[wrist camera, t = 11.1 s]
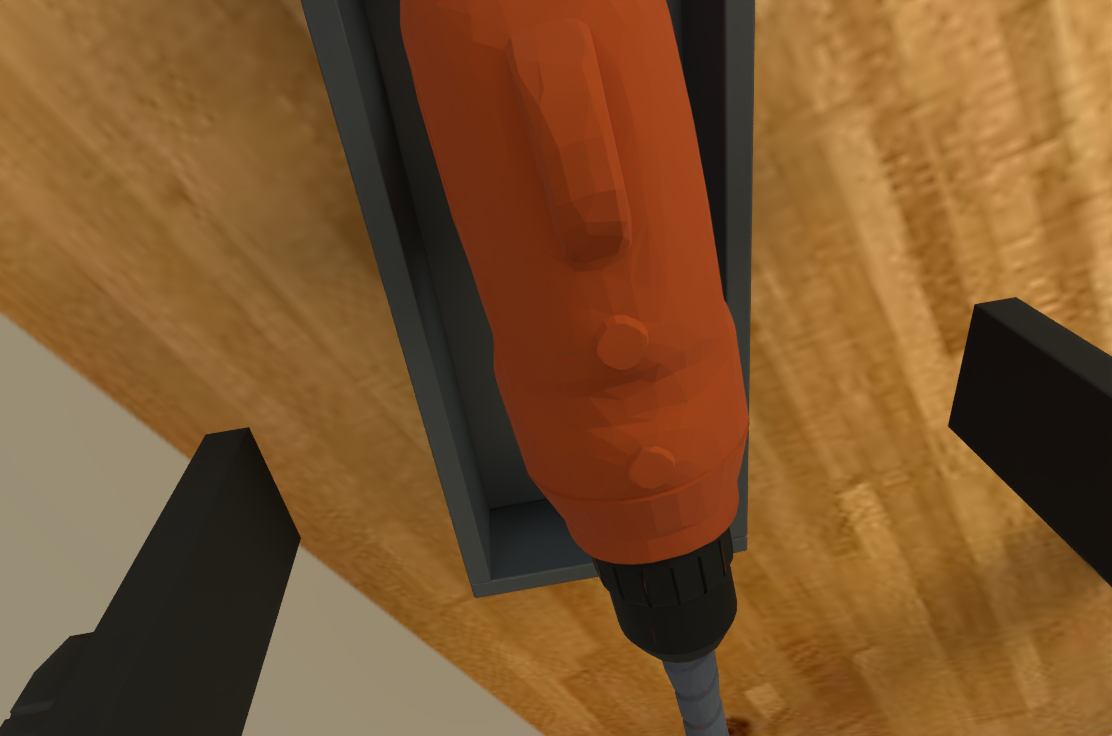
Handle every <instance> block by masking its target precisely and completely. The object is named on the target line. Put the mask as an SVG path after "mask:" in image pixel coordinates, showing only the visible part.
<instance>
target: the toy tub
mask: <svg viewBox="0 0 1112 736" xmlns="http://www.w3.org/2000/svg"><path fill="white" fill-rule="evenodd" d="M301 3H302V7H303V10H304V14H305V17H306V21H307V24H308V28H309V31H310V34H311V38H312V41H313V45H314V48H315V52H316V55H317V59H318V62H319V65H320V69H321V72H322V76H323V79H324V83H325V86H326V89H327V93H328V96H329V100H330V103H331V107H332V110H333V114H334V117H335V120H336V124H337V127H338V131H339V134H340V138H341V141H342V145H343V148H344V151H345V155H346V158H347V162H348V165H349V169H350V172H351V176H352V179H353V182H354V186H355V189H356V193H357V196H358V200H359V203H360V206H361V210H362V213H363V217H364V220H365V224H366V227H367V231H368V234H369V237H370V241H371V244H372V248H373V251H374V255H375V258H376V262H377V265H378V268H379V272H380V275H381V279H382V282H383V286H384V289H385V293H386V296H387V299H388V303H389V306H390V310H391V313H392V317H393V320H394V324H395V327H396V330H397V334H398V337H399V341H400V344H401V348H402V351H403V354H404V358H405V361H406V365H407V368H408V372H409V375H410V379H411V382H412V385H413V389H414V392H415V396H416V399H417V403H418V406H419V410H420V413H421V416H422V420H423V423H424V427H425V430H426V434H427V437H428V441H429V444H430V447H431V451H432V454H433V458H434V461H435V465H436V468H437V471H438V475H439V478H440V482H441V485H442V489H443V492H444V496H445V499H446V502H447V506H448V509H449V513H450V516H451V520H452V523H453V527H454V530H455V533H456V537H457V540H458V544H459V547H460V551H461V554H462V558H463V561H464V564H465V568H466V571H467V575H468V578H469V582H470V584H471V587H472V591H473V594H474V597H475V598H479V597H485V596H490V595H496V594H502V593H508V592H513V591H519V590H525V589H530V588H536V587H542V586H547V585H553V584H559V583H565V582H570V581H576V580H582V579H587V578H593V577H599V575H598V573H597V571H596V569H595V566H594V563H593V561H592V557H591V556H590V555H589V554H587V553H586V552H585V551H584V550H583V549H581V548H580V547H579V546H578V545H577V543H576V542H575V541H574V540H573V539H572V536H571V534H570V532H569V530H568V527H567V525H566V522H565V519H564V518H563V517H562V516H561V515H560V514H559V512H558V511H557V510H556V509H555V508H554V506H553V505H552V504H551V503H550V501H549V500H548V499H547V498H546V496H545V495H544V494H543V493H542V491H541V490H540V489H539V488H538V486H537V485H536V484H535V483H534V482H533V480H532V479H531V478H530V476H529V474H528V472H527V470H526V466H525V463H524V460H523V457H522V454H521V451H520V448H519V446H518V443H517V440H516V437H515V434H514V431H513V428H512V425H511V422H510V419H509V417H508V414H507V411H506V408H505V405H504V402H503V399H502V396H501V393H500V390H499V387H498V384H497V381H496V377H495V372H494V342H493V333H492V329H491V327H490V324H489V321H488V318H487V315H486V313H485V310H484V307H483V304H482V301H481V298H480V295H479V292H478V288H477V285H476V282H475V279H474V276H473V273H472V270H471V267H470V264H469V261H468V258H467V256H466V253H465V250H464V248H463V245H462V242H461V240H460V237H459V234H458V231H457V229H456V226H455V223H454V221H453V218H452V214H451V211H450V207H449V204H448V201H447V197H446V194H445V191H444V187H443V184H442V180H441V177H440V174H439V170H438V167H437V163H436V160H435V157H434V153H433V150H432V147H431V143H430V140H429V136H428V133H427V130H426V126H425V123H424V119H423V116H422V113H421V109H420V106H419V102H418V99H417V94H416V90H415V85H414V81H413V77H412V72H411V68H410V65H409V61H408V58H407V54H406V51H405V47H404V42H403V37H402V32H401V27H400V0H301ZM666 3H667V6H668V9H669V12H670V17H671V21H672V26H673V30H674V35H675V39H676V44H677V48H678V53H679V57H680V62H681V66H682V71H683V75H684V80H685V84H686V89H687V93H688V98H689V102H690V107H691V111H692V116H693V120H694V125H695V131H696V136H697V142H698V147H699V153H700V158H701V164H702V169H703V175H704V180H705V186H706V191H707V197H708V203H709V208H710V215H711V221H712V227H713V234H714V240H715V247H716V253H717V260H718V266H719V273H720V279H721V286H722V292H723V297H724V301H725V302H726V304H727V306H728V308H729V310H730V313H731V316H732V319H733V321H734V324H735V329H736V336H737V342H738V349H739V356H740V363H741V369H742V376H743V383H744V389H745V396H746V403H747V409H748V415H749V377H750V310H751V243H752V176H753V108H754V41H755V0H666ZM748 445H749V429H748V434H747V439H746V444H745V449H744V454H743V459H742V464H741V468H740V473H739V476H738V479H737V485H738V493H739V505H738V509H737V514H736V516H735V518H734V520H733V522H732V523H731V524H730V526H729V527H730V533H731V539H732V544H733V553H736V552H741V551H746V550H747V512H748Z"/></svg>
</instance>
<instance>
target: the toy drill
mask: <svg viewBox="0 0 1112 736" xmlns="http://www.w3.org/2000/svg"><path fill="white" fill-rule="evenodd" d="M400 27H401V32H402V37H403V42H404V47H405V51H406V54H407V58H408V61H409V65H410V68H411V72H412V77H413V81H414V85H415V90H416V94H417V99H418V102H419V106H420V109H421V113H422V116H423V119H424V123H425V126H426V130H427V133H428V136H429V140H430V143H431V147H432V150H433V153H434V157H435V160H436V163H437V167H438V170H439V174H440V177H441V180H442V184H443V187H444V191H445V194H446V197H447V201H448V204H449V207H450V211H451V214H452V218H453V221H454V223H455V226H456V229H457V231H458V234H459V237H460V240H461V242H462V245H463V248H464V250H465V253H466V256H467V258H468V261H469V264H470V267H471V270H472V273H473V276H474V279H475V282H476V285H477V288H478V292H479V295H480V298H481V301H482V304H483V307H484V310H485V313H486V315H487V318H488V321H489V324H490V327H491V329H492V333H493V342H494V372H495V377H496V381H497V384H498V387H499V390H500V393H501V396H502V399H503V402H504V405H505V408H506V411H507V414H508V417H509V419H510V422H511V425H512V428H513V431H514V434H515V437H516V440H517V443H518V446H519V448H520V451H521V454H522V457H523V460H524V463H525V466H526V470H527V472H528V474H529V476H530V478H531V479H532V480H533V482H534V483H535V484H536V485H537V486H538V488H539V489H540V490H541V491H542V493H543V494H544V495H545V496H546V498H547V499H548V500H549V501H550V503H551V504H552V505H553V506H554V508H555V509H556V510H557V511H558V512H559V514H560V515H561V516H562V517H563V518H564V519H565V522H566V525H567V527H568V530H569V532H570V534H571V536H572V539H573V540H574V541H575V542H576V543H577V545H578V546H579V547H580V548H581V549H583V550H584V551H585V552H586V553H587V554H589V555H590V556H591V557H592V561H593V563H594V566H595V569H596V571H597V573H598V575H599V577H600V579H601V581H602V583H603V585H604V587H605V588H606V589H607V590H608V591H609V592H610V596H611V599H612V602H613V605H614V609H615V612H616V615H617V619H618V622H619V624H620V627H621V629H622V631H623V632H624V634H625V636H626V637H627V638H628V639H629V640H630V641H631V642H633V643H634V644H635V645H637V646H638V647H639V648H641V649H642V650H644V651H646V652H647V653H649V654H650V655H652V656H654V657H656V658H658V659H660V660H662V662H663V665H664V668H665V671H666V673H667V675H668V677H669V679H670V681H671V683H672V685H673V687H674V689H675V694H676V698H677V701H678V705H679V709H680V712H681V716H682V717H683V724H684V728H685V732H686V736H729V733H728V729H727V726H726V719H725V714H724V710H723V705H722V701H721V698H720V694H719V675H718V668H717V663H716V657H715V650H714V649H716V648H717V647H718V645H719V644H720V642H721V641H722V639H723V638H724V636H725V634H726V633H727V631H728V629H729V628H730V626H731V624H732V623H733V621H734V618H735V615H736V612H737V599H736V593H735V588H734V582H733V577H732V572H731V567H730V564H731V561H732V559H733V544H732V539H731V533H730V527H729V526H730V524H731V523H732V522H733V520H734V518H735V516H736V514H737V509H738V505H739V493H738V485H737V479H738V476H739V473H740V468H741V464H742V459H743V454H744V449H745V444H746V439H747V434H748V429H749V415H748V409H747V403H746V396H745V389H744V383H743V376H742V369H741V363H740V356H739V349H738V342H737V336H736V329H735V324H734V321H733V319H732V316H731V313H730V310H729V308H728V306H727V304H726V302H725V301H724V297H723V292H722V286H721V279H720V273H719V266H718V260H717V253H716V247H715V240H714V234H713V227H712V221H711V215H710V208H709V203H708V197H707V191H706V186H705V180H704V175H703V169H702V164H701V158H700V153H699V147H698V142H697V136H696V131H695V125H694V120H693V116H692V111H691V107H690V102H689V98H688V93H687V89H686V84H685V80H684V75H683V71H682V66H681V62H680V57H679V53H678V48H677V44H676V39H675V35H674V30H673V26H672V21H671V17H670V12H669V9H668V6H667V3H666V0H400Z"/></svg>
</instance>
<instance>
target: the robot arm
mask: <svg viewBox="0 0 1112 736" xmlns="http://www.w3.org/2000/svg"><path fill="white" fill-rule="evenodd" d="M948 427H949V428H950V429H951V430H952V431H953V432H954V433H955V434H956V435H957V436H958V437H960V438H961V439H962V440H963V441H964V442H965V443H966V444H967V445H968V446H969V447H970V448H971V449H972V450H973V451H974V452H975V453H976V454H977V455H978V456H979V457H980V458H981V459H982V460H983V461H984V462H985V463H986V464H987V465H988V466H989V467H990V468H991V469H992V470H993V471H994V472H995V473H996V474H997V475H998V476H999V477H1000V478H1001V479H1002V480H1003V481H1004V482H1005V483H1006V484H1007V485H1008V486H1009V487H1010V488H1011V489H1012V490H1013V491H1014V492H1015V493H1017V494H1018V495H1019V496H1020V497H1021V498H1022V499H1023V500H1024V501H1025V502H1026V503H1027V504H1028V505H1029V506H1030V507H1031V508H1032V509H1033V510H1034V511H1035V512H1036V513H1037V514H1038V515H1039V516H1040V517H1041V518H1042V519H1043V520H1044V521H1045V522H1046V523H1047V524H1048V525H1049V526H1050V527H1051V528H1052V529H1053V530H1054V531H1055V532H1056V533H1057V534H1058V535H1059V536H1060V537H1061V538H1062V539H1063V540H1064V541H1065V542H1066V543H1067V544H1068V545H1069V546H1070V547H1071V548H1072V549H1074V550H1075V551H1076V552H1077V553H1078V554H1079V555H1080V556H1081V557H1082V558H1083V559H1084V560H1085V561H1086V562H1087V563H1088V564H1089V565H1090V566H1091V567H1092V568H1093V569H1094V570H1095V571H1096V572H1097V573H1098V574H1099V575H1100V576H1101V577H1102V578H1103V579H1104V580H1105V581H1106V582H1107V583H1108V584H1109V585H1110V586H1111V587H1112V357H1111V356H1110V355H1108V354H1107V353H1105V352H1103V351H1102V350H1100V349H1099V348H1097V347H1095V346H1094V345H1092V344H1091V343H1089V342H1087V341H1086V340H1084V339H1083V338H1081V337H1079V336H1078V335H1076V334H1074V333H1073V332H1071V331H1070V330H1068V329H1066V328H1065V327H1063V326H1062V325H1060V324H1058V323H1057V322H1055V321H1054V320H1052V319H1050V318H1049V317H1047V316H1045V315H1044V314H1042V313H1041V312H1039V311H1037V310H1036V309H1034V308H1033V307H1031V306H1029V305H1028V304H1026V303H1025V302H1023V301H1021V300H1020V299H1018V298H1016V297H1015V298H1009V299H1003V300H997V301H991V302H985V303H979V304H975V305H974V310H973V314H972V319H971V323H970V328H969V332H968V337H967V342H966V346H965V351H964V355H963V360H962V364H961V369H960V374H959V378H958V383H957V387H956V392H955V396H954V401H953V406H952V410H951V415H950V419H949V424H948ZM300 539H301V537H300V535H299V533H298V531H297V529H296V527H295V524H294V522H293V520H292V518H291V516H290V514H289V512H288V509H287V507H286V505H285V503H284V501H283V499H282V497H281V495H280V492H279V490H278V488H277V486H276V484H275V482H274V480H273V477H272V475H271V473H270V471H269V469H268V467H267V465H266V463H265V460H264V458H263V456H262V454H261V452H260V450H259V448H258V445H257V443H256V441H255V439H254V437H253V435H252V433H251V431H250V428H249V427H248V428H242V429H236V430H230V431H224V432H218V433H212V434H207V435H205V437H204V439H203V440H202V442H201V444H200V446H199V447H198V449H197V451H196V453H195V454H194V456H193V458H192V460H191V461H190V463H189V465H188V467H187V469H186V470H185V472H184V474H183V476H182V477H181V479H180V481H179V483H178V484H177V486H176V488H175V490H174V491H173V493H172V495H171V497H170V499H169V500H168V502H167V504H166V506H165V507H164V509H163V511H162V513H161V514H160V516H159V518H158V520H157V521H156V523H155V525H154V527H153V528H152V530H151V532H150V534H149V536H148V537H147V539H146V541H145V543H144V545H143V546H142V548H141V550H140V551H139V553H138V555H137V557H136V558H135V560H134V562H133V564H132V566H131V567H130V569H129V571H128V573H127V574H126V576H125V578H124V580H123V581H122V583H121V585H120V587H119V588H118V590H117V592H116V594H115V595H114V597H113V599H112V601H111V603H110V604H109V606H108V608H107V610H106V612H105V613H104V615H103V617H102V618H101V620H100V622H99V624H98V626H97V627H96V629H95V631H94V632H91V633H86V634H80V635H74V636H70V637H69V638H68V639H67V640H66V641H65V642H64V643H63V644H62V645H61V646H60V647H59V648H58V649H57V650H56V651H55V652H54V653H53V654H52V655H51V656H50V657H49V658H48V659H47V660H46V661H45V662H44V663H43V664H42V665H41V666H40V667H39V668H38V669H37V670H36V671H35V672H34V674H33V676H32V677H31V679H30V680H29V682H28V683H27V685H26V687H25V688H24V690H23V691H22V693H21V695H20V696H19V698H18V700H17V701H16V703H15V704H14V706H13V708H12V710H11V711H10V713H11V716H10V718H9V719H6V720H5V721H4V722H3V724H2V725H1V727H0V736H242V732H243V729H244V726H245V722H246V719H247V716H248V712H249V709H250V706H251V702H252V699H253V696H254V692H255V689H256V686H257V682H258V679H259V676H260V672H261V669H262V666H263V662H264V659H265V656H266V652H267V649H268V646H269V643H270V639H271V636H272V632H273V629H274V626H275V623H276V619H277V616H278V613H279V609H280V606H281V603H282V599H283V596H284V592H285V589H286V586H287V582H288V579H289V576H290V572H291V569H292V566H293V563H294V559H295V556H296V553H297V549H298V546H299V543H300Z"/></svg>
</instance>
